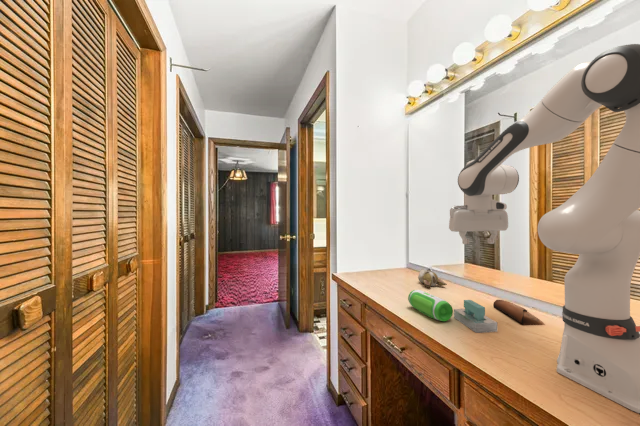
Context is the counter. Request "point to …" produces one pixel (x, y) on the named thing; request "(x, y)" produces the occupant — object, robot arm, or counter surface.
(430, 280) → the ceramic sculpture
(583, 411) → the counter surface
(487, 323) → the grey slotted block
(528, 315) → the brown tapered cylinder
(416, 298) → the speaker
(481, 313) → the clip
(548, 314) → the counter surface
